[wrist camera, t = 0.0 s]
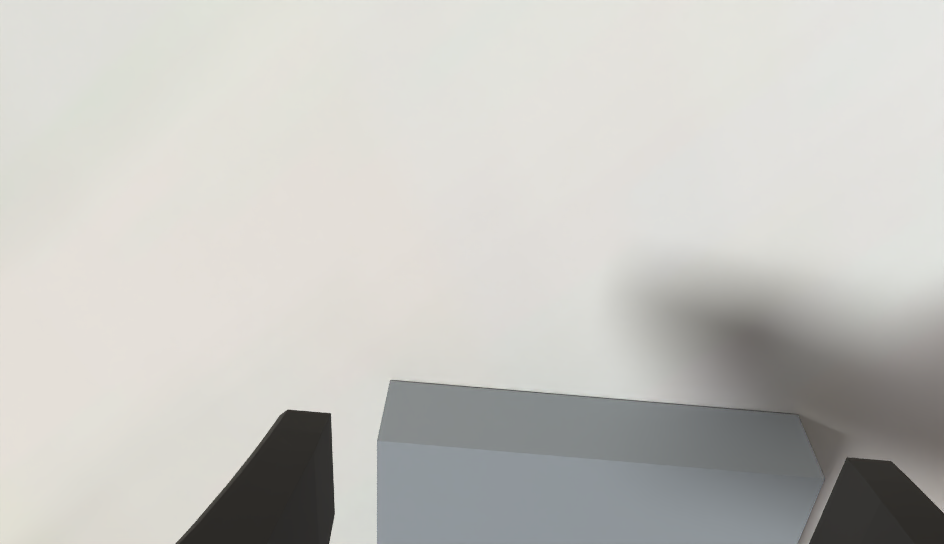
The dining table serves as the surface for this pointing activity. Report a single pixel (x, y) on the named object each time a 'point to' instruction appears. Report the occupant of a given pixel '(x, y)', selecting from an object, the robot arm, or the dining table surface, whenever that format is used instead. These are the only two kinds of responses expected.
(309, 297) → the dining table surface
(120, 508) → the dining table surface
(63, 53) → the dining table surface
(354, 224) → the dining table surface
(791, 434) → the slate plinth
